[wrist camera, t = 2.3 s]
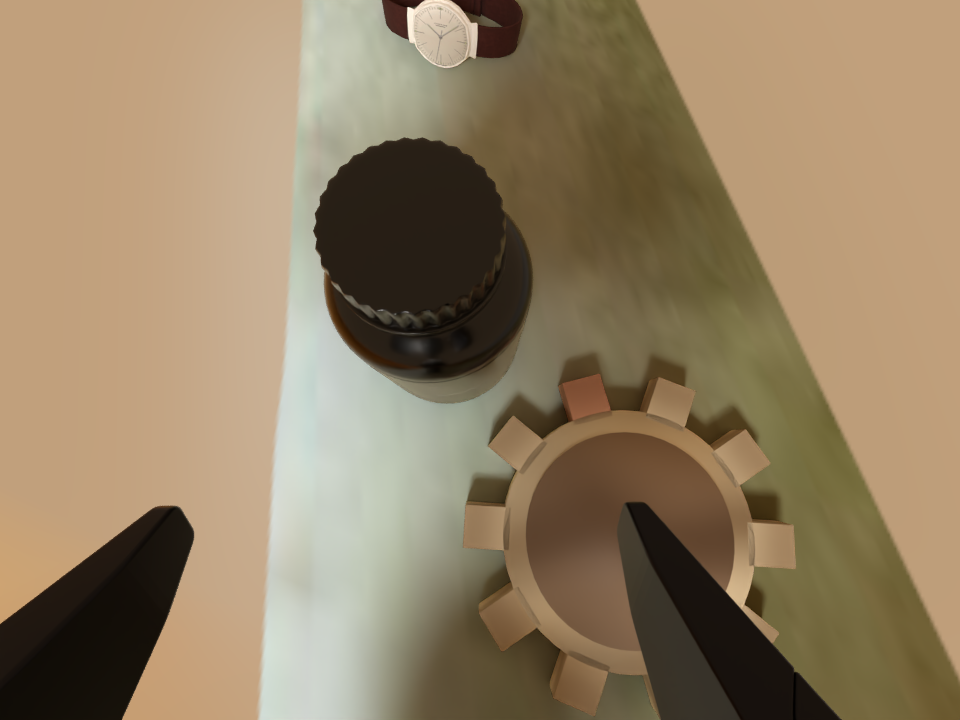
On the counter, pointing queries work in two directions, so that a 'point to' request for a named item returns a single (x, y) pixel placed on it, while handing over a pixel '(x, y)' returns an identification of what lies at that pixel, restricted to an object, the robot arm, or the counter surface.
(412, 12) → the watch
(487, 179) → the supplement bottle
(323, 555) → the counter surface
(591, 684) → the sprocket wheel
